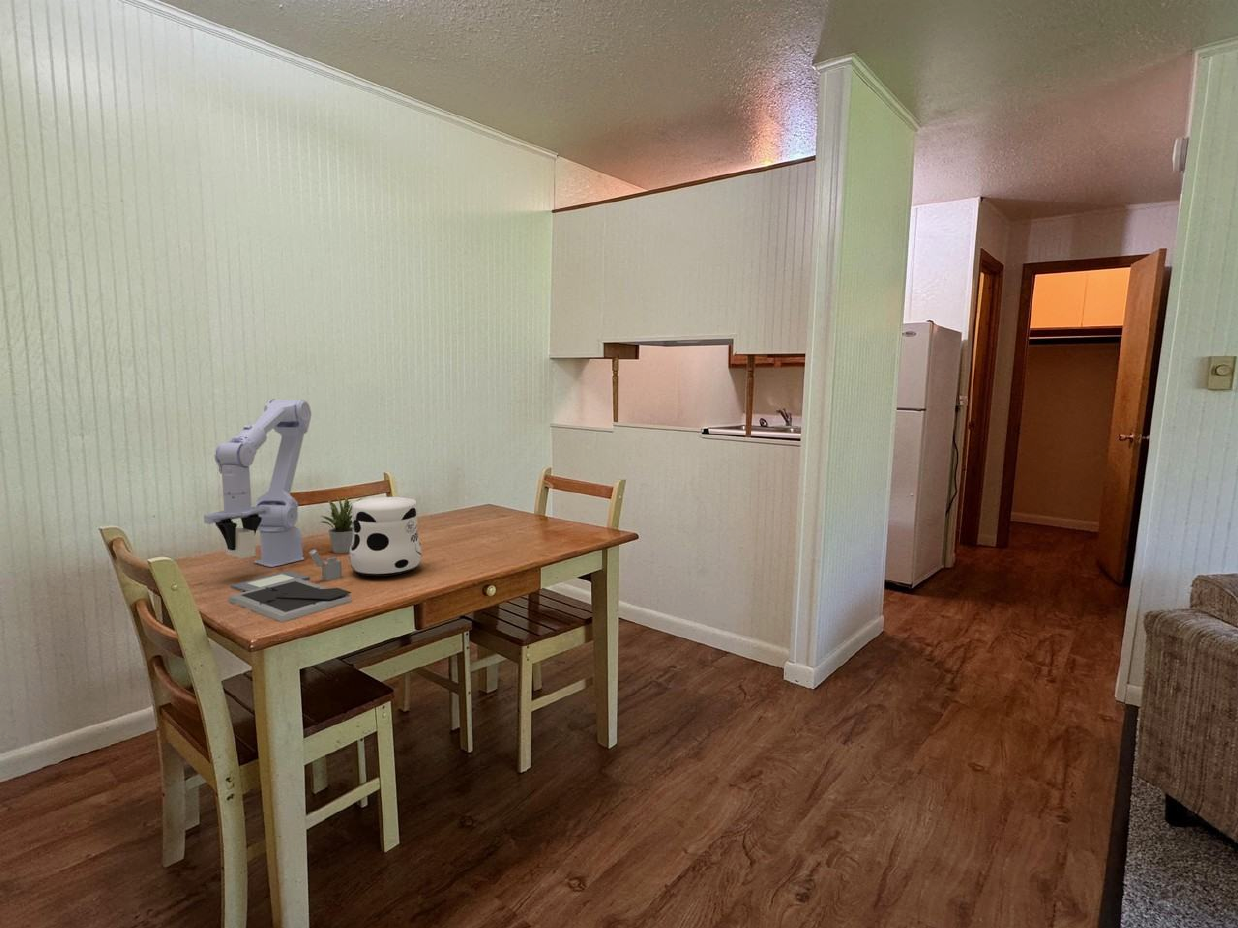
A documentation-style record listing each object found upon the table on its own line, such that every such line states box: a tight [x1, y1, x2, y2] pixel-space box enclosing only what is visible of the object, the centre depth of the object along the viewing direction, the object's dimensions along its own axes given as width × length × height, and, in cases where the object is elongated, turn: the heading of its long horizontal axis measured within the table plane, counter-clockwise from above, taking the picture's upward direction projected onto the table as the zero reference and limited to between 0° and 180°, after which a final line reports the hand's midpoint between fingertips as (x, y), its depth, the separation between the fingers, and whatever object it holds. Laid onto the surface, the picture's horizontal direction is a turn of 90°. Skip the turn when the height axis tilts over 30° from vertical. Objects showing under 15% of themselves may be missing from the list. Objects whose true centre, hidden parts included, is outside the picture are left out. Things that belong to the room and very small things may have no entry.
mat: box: [230, 570, 311, 592], centre depth 156 cm, size 14×9×1 cm, turn 148°
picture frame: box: [228, 578, 352, 623], centre depth 144 cm, size 16×3×21 cm
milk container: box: [348, 496, 422, 578], centre depth 166 cm, size 17×17×18 cm
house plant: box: [317, 495, 367, 554], centre depth 185 cm, size 14×14×16 cm
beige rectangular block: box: [224, 526, 256, 559], centre depth 158 cm, size 4×6×6 cm, turn 58°
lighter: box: [308, 548, 343, 582], centre depth 159 cm, size 7×2×8 cm, turn 138°
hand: (240, 547), depth 158 cm, fingers closed on beige rectangular block, 3 cm apart
